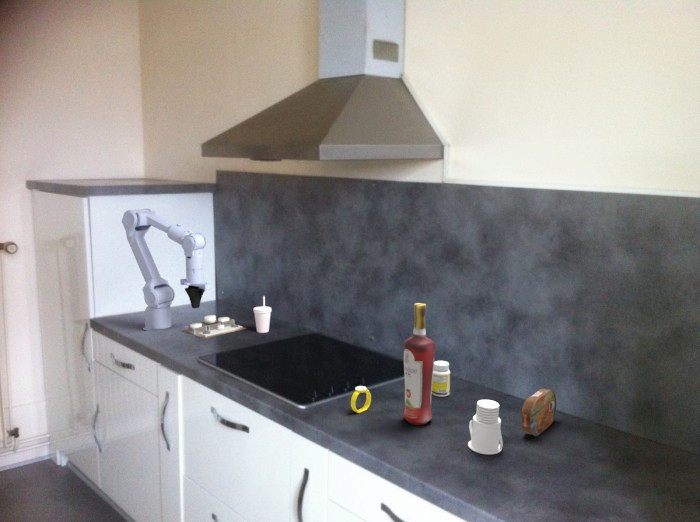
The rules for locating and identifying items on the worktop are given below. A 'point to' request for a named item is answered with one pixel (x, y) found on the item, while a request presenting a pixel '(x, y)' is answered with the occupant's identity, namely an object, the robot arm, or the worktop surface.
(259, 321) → the smoothie
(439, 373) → the supplement bottle
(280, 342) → the worktop surface
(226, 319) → the button far
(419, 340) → the liquor
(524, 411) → the tin
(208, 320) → the button mid
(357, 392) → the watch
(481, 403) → the downlight
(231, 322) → the console
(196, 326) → the button near
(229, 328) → the strip
